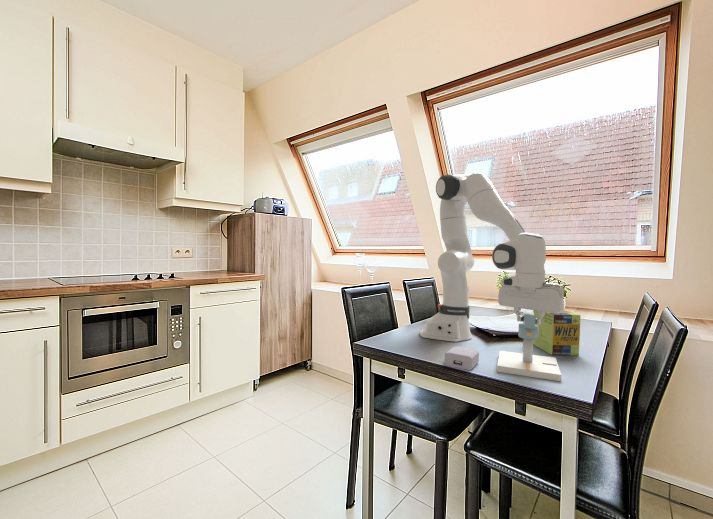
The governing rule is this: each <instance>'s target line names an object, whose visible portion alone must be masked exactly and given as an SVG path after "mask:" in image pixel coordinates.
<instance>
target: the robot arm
mask: <svg viewBox="0 0 713 519" xmlns="http://www.w3.org/2000/svg"><path fill="white" fill-rule="evenodd" d="M435 192H436V195H437V197H438V199H441V200H440V206H439V207H440V208H439V220H440V232H441V234H440V235H441V240H442V241H443V242H444V246H445V250H446V251H445V252H443V253H442V254H440V255H439V257H438V260H437V267H438V269H439V271H440V276H441V281H442V288H443V289H442V303H439V304H437V308H438V309H437V310H438V312H437V313H436V314H434V315H433V316H431V317H430V318H428V320H427V321H426V322H425V325H424V326H425V327H424V328H422V330H420V332H419V333H420V334H419V336H420V337H422V338H424V339H430V340H431V339H432V340H438V341H439V340H440V341H445V342H446V341H448V342H454V343H457V342H461V341H468V340H472V334H471V329H470V317H471V315H470V314H471V313H470V312H471V311H470V310H471V308H470V305H469V301H470V287H469V285H468V281H467V280H468V279H467V273H468V272H469V271H471V269H472V268H473V267H474V265H475V258H474V256H473V253H472V249H471V244H470V241H469V235H468V228H467V218H466V209H465V208H466V204H467V203H468V206H469V209H470V210H471V213H472V214H473V215H474V216H475V217H476V218H477V219H478V220H480V221H482V222H486V223H488V224H492V225H494V226H496V227H498V228H500V229H501V230H502V231H503V232H504V234H505V235H506V236H507V239H508V241H506V242H503V243H500V244H497V245H496V246H495V247H494V249H493V251H492V253H491V256H492V257H491V258H492V259H491V260H492V262H493V265H494V266H495V267H496V268H497V269H499V270H504V271H515V275H513V276H510V277H505V278H502V279H500V284H501V286H500V287H499V290H498V296H497V299H498V300H497V302H498V304H499V305H500V307H501V306H502V307H509V308H513V311H514V313H515V316H516V321H517V322H520V323H523V320H524V319H523V318H524V316H523V315H522V314H521V310H528V311H533V310H536V311H538V314H540V315H539V317H538V318H536V319H535V324H538V325H540V324H541V319H542V318H543V316H544V315H545V312H549V313H557V314H558V313H561V312H562V311H563V310H565V304H564V296H565V288H564V287H563V286H562V285H561V284H558V283H549V282H546V269H545V263H546V259H547V256H546V255H547V249H546V248H547V246H546V241H545V238H544V236H542V234H538V233H534V232H533V233H531V232H526V231H525V229H524V228H523V226H522V224H521V223H520V222H519V220H518V218H517V217H516V216H515V213H513V212H512V211H511V209H509V208H508V206H507V205H506V204H505V203H504V202H503V200H502V199H501V197H500V196H499V194H498V191H497V190H496V188H495V187H494V185H493V183H492V181H491V180H490V179H489V178H488V177H487V175H486V174H484V173H482V172H474V173H457V174H455V173H454V174H446V175H442V176H440V177H439V178H438V179H437V181H436V184H435Z"/></svg>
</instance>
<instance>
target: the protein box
mask: <svg viewBox="0 0 713 519" xmlns="http://www.w3.org/2000/svg"><path fill="white" fill-rule="evenodd" d="M532 311H533V313H534V315H535V319H536V318H538V317H539V315H540V314H538V311H536V310H532ZM535 325H538V324H535ZM538 326H539V333H538V339H533V346H535V347H536V348H539V349H541V350H543V351H544V352H546V353H548V354H549V355H552V356H580V337H581V336H580V335H581V314H579V313H575V312H572V311H568V310H565V309H564V310H563V311H562V312H561V313H558V314H557V313H549V312H545V315H544V316H543V318H542V319H541V324H540V325H538Z"/></svg>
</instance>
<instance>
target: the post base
mask: <svg viewBox="0 0 713 519" xmlns="http://www.w3.org/2000/svg"><path fill="white" fill-rule="evenodd" d="M496 372H497V373H498V372H499V373H503V374H509V375H510V374H511V375H518V376H524V377H531V378H537V379H542V380H543V379H544V380H550V381H556V382H557V381H558V382H562V373H561V369H560V367H559V364H558V362H557V358H556V357H553V356H545V355H538V354H534V345H533V339H524V338H522V352H513V351H505V350H499V353H498V360H497V365H496Z"/></svg>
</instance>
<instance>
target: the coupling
mask: <svg viewBox="0 0 713 519" xmlns="http://www.w3.org/2000/svg"><path fill="white" fill-rule="evenodd" d="M522 313H523V314H522V316H524V318H523V319H524V320H523V321H522V322H520V323H519V324H518V338H521V339H523V338H524V339H538V333H539V326H538V325H535V315H534V313H533V310H522Z"/></svg>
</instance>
